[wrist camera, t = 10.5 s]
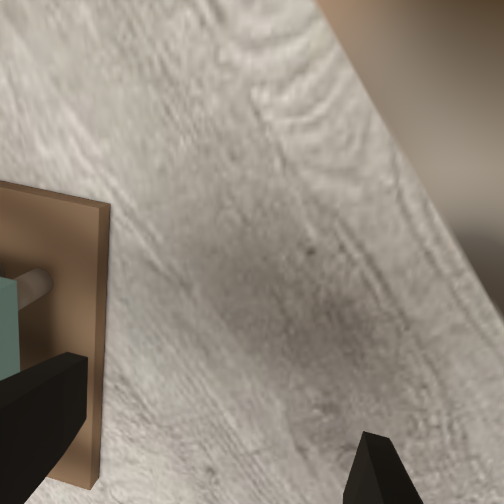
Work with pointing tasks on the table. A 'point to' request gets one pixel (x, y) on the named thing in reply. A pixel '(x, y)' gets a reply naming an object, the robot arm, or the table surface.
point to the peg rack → (60, 297)
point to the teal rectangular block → (9, 329)
